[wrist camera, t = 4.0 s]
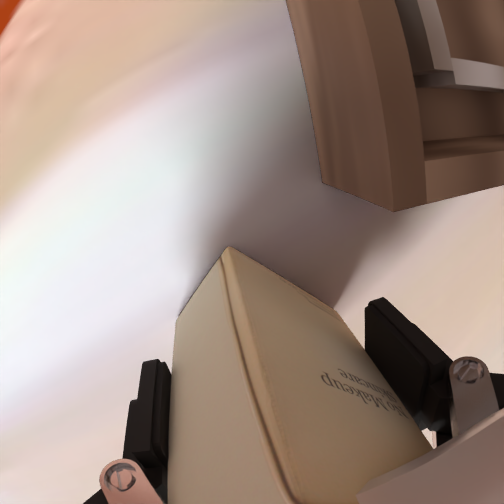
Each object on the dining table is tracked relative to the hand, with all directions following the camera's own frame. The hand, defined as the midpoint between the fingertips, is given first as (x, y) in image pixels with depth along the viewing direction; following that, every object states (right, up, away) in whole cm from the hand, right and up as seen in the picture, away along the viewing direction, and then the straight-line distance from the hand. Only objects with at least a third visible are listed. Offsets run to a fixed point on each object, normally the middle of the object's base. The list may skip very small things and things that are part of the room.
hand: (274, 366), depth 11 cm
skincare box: (-1, +1, +3) cm, 4 cm away
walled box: (+10, +18, -1) cm, 21 cm away
